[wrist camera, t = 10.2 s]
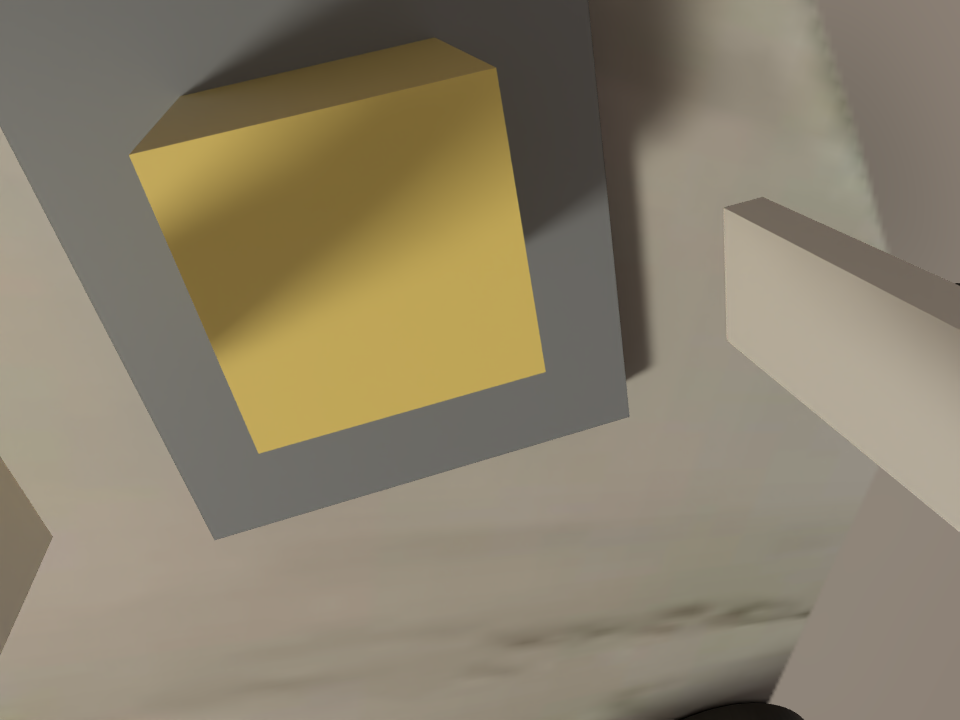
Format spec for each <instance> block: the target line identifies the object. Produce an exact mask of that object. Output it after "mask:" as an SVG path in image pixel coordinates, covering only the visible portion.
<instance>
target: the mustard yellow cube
mask: <svg viewBox="0 0 960 720" xmlns="http://www.w3.org/2000/svg"><path fill="white" fill-rule="evenodd" d="M129 157H130V159H131V161H132V163H133V166H134V168H135V170H136V173H137V175H138V177H139V180H140V182H141V184H142V187H143V189H144V191H145V193H146V196H147V198H148V200H149V203H150V205H151V207H152V210H153V212H154V214H155V216H156V219H157V221H158V223H159V226H160V228H161V230H162V233H163V235H164V237H165V239H166V242H167V244H168V246H169V249H170V251H171V253H172V256H173V258H174V260H175V263H176V265H177V267H178V269H179V272H180V274H181V276H182V279H183V281H184V283H185V286H186V288H187V290H188V292H189V295H190V297H191V299H192V302H193V304H194V306H195V309H196V311H197V313H198V316H199V318H200V320H201V322H202V325H203V327H204V329H205V332H206V334H207V336H208V339H209V341H210V343H211V345H212V348H213V350H214V352H215V355H216V357H217V359H218V362H219V364H220V366H221V368H222V371H223V373H224V375H225V378H226V380H227V382H228V385H229V387H230V389H231V392H232V394H233V396H234V398H235V401H236V403H237V405H238V408H239V410H240V412H241V415H242V417H243V419H244V421H245V424H246V426H247V428H248V431H249V433H250V435H251V438H252V440H253V442H254V444H255V447H256V449H257V451H258V454H260V453H263V452H267V451H270V450H274V449H277V448H281V447H284V446H288V445H291V444H295V443H298V442H302V441H305V440H309V439H312V438H316V437H319V436H323V435H326V434H330V433H333V432H337V431H340V430H344V429H347V428H351V427H354V426H358V425H361V424H365V423H368V422H372V421H375V420H379V419H382V418H386V417H389V416H393V415H396V414H400V413H404V412H407V411H411V410H414V409H418V408H421V407H425V406H428V405H432V404H435V403H439V402H442V401H446V400H449V399H453V398H456V397H460V396H463V395H467V394H470V393H474V392H477V391H481V390H484V389H488V388H491V387H495V386H498V385H502V384H505V383H509V382H512V381H516V380H519V379H523V378H526V377H530V376H533V375H537V374H540V373H544V372H546V370H545V364H544V358H543V352H542V346H541V340H540V334H539V327H538V321H537V315H536V309H535V303H534V297H533V291H532V285H531V278H530V272H529V266H528V260H527V254H526V248H525V242H524V235H523V229H522V223H521V217H520V211H519V205H518V199H517V193H516V186H515V180H514V174H513V168H512V162H511V156H510V150H509V143H508V137H507V131H506V125H505V119H504V113H503V107H502V101H501V94H500V88H499V82H498V76H497V70H496V67H494V66H492V65H490V64H488V63H486V62H484V61H482V60H480V59H477V58H475V57H473V56H471V55H469V54H467V53H465V52H463V51H461V50H459V49H457V48H455V47H453V46H451V45H449V44H447V43H445V42H443V41H441V40H439V39H437V38H430V39H426V40H422V41H417V42H413V43H409V44H404V45H400V46H396V47H391V48H387V49H383V50H378V51H374V52H370V53H365V54H361V55H357V56H352V57H348V58H344V59H339V60H335V61H331V62H326V63H322V64H318V65H313V66H309V67H305V68H300V69H296V70H292V71H287V72H283V73H279V74H274V75H270V76H266V77H261V78H257V79H253V80H248V81H244V82H240V83H235V84H231V85H227V86H222V87H218V88H214V89H209V90H205V91H201V92H196V93H192V94H188V95H183V96H180V97H179V98H178V99H177V100H176V102H175V103H174V104H173V105H172V106H171V107H170V108H169V110H168V111H167V112H166V113H165V114H164V115H163V116H162V118H161V119H160V120H159V121H158V122H157V123H156V124H155V126H154V127H153V128H152V129H151V130H150V131H149V132H148V134H147V135H146V136H145V137H144V138H143V139H142V140H141V142H140V143H139V144H138V145H137V146H136V147H135V148H134V150H133V151H132V152H131V153H130V154H129Z"/></svg>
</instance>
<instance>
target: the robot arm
mask: <svg viewBox="0 0 960 720" xmlns="http://www.w3.org/2000/svg"><path fill="white" fill-rule="evenodd" d="M723 209H724V248H725V287H726V326H727V341H728V342H729V343H731V344H732V345H733V346H734V347H735V348H737V349H738V350H739V351H740V352H741V353H743V354H744V355H745V356H746V357H748V358H749V359H750V360H751V361H752V362H754V363H755V364H756V365H757V366H758V367H760V368H761V369H762V370H763V371H765V372H766V373H767V374H768V375H769V376H771V377H772V378H773V379H774V380H775V381H777V382H778V383H779V384H780V385H782V386H783V387H784V388H785V389H786V390H788V391H789V392H790V393H791V394H792V395H794V396H795V397H796V398H797V399H799V400H800V401H801V402H802V403H803V404H805V405H806V406H807V407H808V408H810V409H811V410H812V411H813V412H814V413H816V414H817V415H818V416H819V417H820V418H822V419H823V420H824V421H825V422H827V423H828V424H829V425H830V426H831V427H833V428H834V429H835V430H836V431H837V432H839V433H840V434H841V435H842V436H844V437H845V438H846V439H847V440H848V441H850V442H851V443H852V444H853V445H854V446H856V447H857V448H858V449H859V450H861V451H862V452H863V453H864V454H865V455H867V456H868V457H869V458H870V459H871V460H873V461H874V462H875V463H876V464H878V465H879V466H880V467H881V468H882V469H884V470H885V471H886V472H887V473H889V474H890V475H891V476H892V477H893V478H895V479H896V480H897V481H898V482H900V483H901V484H902V485H903V486H904V487H906V488H907V489H908V490H909V491H910V492H912V493H913V494H914V495H915V496H916V497H918V498H919V499H920V500H921V501H923V502H924V503H925V504H926V505H928V506H929V507H930V508H931V509H932V510H933V511H935V512H936V513H937V514H938V515H940V516H941V517H942V518H943V519H944V520H946V521H947V522H948V523H949V524H951V525H952V526H953V527H954V528H955V529H957V530H958V531H959V532H960V283H956V284H954V283H952V282H950V281H948V280H945V279H943V278H941V277H939V276H937V275H934V274H932V273H930V272H928V271H925V270H923V269H921V268H919V267H917V266H914V265H912V264H910V263H908V262H906V261H903V260H901V259H899V258H897V257H894V256H892V255H890V254H888V253H886V252H883V251H881V250H879V249H877V248H875V247H872V246H870V245H868V244H866V243H863V242H861V241H859V240H857V239H855V238H852V237H850V236H848V235H846V234H843V233H841V232H839V231H837V230H835V229H832V228H830V227H828V226H826V225H824V224H821V223H819V222H817V221H815V220H812V219H810V218H808V217H806V216H804V215H801V214H799V213H797V212H795V211H793V210H790V209H788V208H786V207H784V206H781V205H779V204H777V203H775V202H773V201H770V200H768V199H766V198H764V197H761V198H757V199H753V200H750V201H746V202H742V203H739V204H735V205H731V206H727V207H724V208H723ZM51 540H52V535H51V533H50V532H49V530H48V529H47V527H46V526H45V524H44V523H43V521H42V520H41V518H40V517H39V515H38V514H37V512H36V511H35V509H34V507H33V506H32V504H31V503H30V501H29V500H28V498H27V497H26V495H25V494H24V492H23V491H22V489H21V488H20V486H19V484H18V483H17V481H16V480H15V478H14V477H13V475H12V474H11V472H10V471H9V469H8V468H7V466H6V465H5V463H4V462H3V460H2V458H1V457H0V654H1V652H2V650H3V647H4V645H5V643H6V641H7V638H8V636H9V634H10V632H11V629H12V627H13V625H14V623H15V620H16V618H17V616H18V614H19V612H20V609H21V607H22V605H23V603H24V600H25V598H26V596H27V594H28V591H29V589H30V587H31V585H32V582H33V580H34V578H35V576H36V573H37V571H38V569H39V567H40V564H41V562H42V560H43V558H44V555H45V553H46V551H47V549H48V546H49V544H50V542H51ZM683 720H804V719H802V718H801V716H799V715H798V714H797V713H795V712H793V711H791V710H789V709H787V708H784V707H781V706H777V705H773V704H765V703H745V704H735V705H729V706H724V707H719V708H715V709H712V710H708V711H705V712H702V713H699V714H696V715H693V716H690V717H688V718H686V719H683Z"/></svg>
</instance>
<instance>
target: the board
mask: <svg viewBox="0 0 960 720" xmlns="http://www.w3.org/2000/svg"><path fill="white" fill-rule="evenodd" d="M430 38H437V39H439V40H441V41H443V42H445V43H447V44H449V45H451V46H453V47H455V48H457V49H459V50H461V51H463V52H465V53H467V54H469V55H471V56H473V57H475V58H477V59H480V60H482V61H484V62H486V63H488V64H490V65H492V66H494V67H496V70H497V76H498V82H499V88H500V94H501V101H502V107H503V113H504V119H505V125H506V131H507V137H508V143H509V150H510V156H511V162H512V168H513V174H514V180H515V186H516V193H517V199H518V205H519V211H520V217H521V223H522V229H523V235H524V242H525V248H526V254H527V260H528V266H529V272H530V278H531V285H532V291H533V297H534V303H535V309H536V315H537V321H538V327H539V334H540V340H541V346H542V352H543V358H544V364H545V370H546V372H544V373H540V374H537V375H533V376H530V377H526V378H523V379H519V380H516V381H512V382H509V383H505V384H502V385H498V386H495V387H491V388H488V389H484V390H481V391H477V392H474V393H470V394H467V395H463V396H460V397H456V398H453V399H449V400H446V401H442V402H439V403H435V404H432V405H428V406H425V407H421V408H418V409H414V410H411V411H407V412H404V413H400V414H396V415H393V416H389V417H386V418H382V419H379V420H375V421H372V422H368V423H365V424H361V425H358V426H354V427H351V428H347V429H344V430H340V431H337V432H333V433H330V434H326V435H323V436H319V437H316V438H312V439H309V440H305V441H302V442H298V443H295V444H291V445H288V446H284V447H281V448H277V449H274V450H270V451H267V452H263V453H260V454H258V451H257V449H256V447H255V444H254V442H253V440H252V438H251V435H250V433H249V431H248V428H247V426H246V424H245V421H244V419H243V417H242V415H241V412H240V410H239V408H238V405H237V403H236V401H235V398H234V396H233V394H232V392H231V389H230V387H229V385H228V382H227V380H226V378H225V375H224V373H223V371H222V368H221V366H220V364H219V362H218V359H217V357H216V355H215V352H214V350H213V348H212V345H211V343H210V341H209V339H208V336H207V334H206V332H205V329H204V327H203V325H202V322H201V320H200V318H199V316H198V313H197V311H196V309H195V306H194V304H193V302H192V299H191V297H190V295H189V292H188V290H187V288H186V286H185V283H184V281H183V279H182V276H181V274H180V272H179V269H178V267H177V265H176V263H175V260H174V258H173V256H172V253H171V251H170V249H169V246H168V244H167V242H166V239H165V237H164V235H163V233H162V230H161V228H160V226H159V223H158V221H157V219H156V216H155V214H154V212H153V210H152V207H151V205H150V203H149V200H148V198H147V196H146V193H145V191H144V189H143V187H142V184H141V182H140V180H139V177H138V175H137V173H136V170H135V168H134V166H133V163H132V161H131V159H130V157H129V154H130V153H131V152H132V151H133V150H134V148H135V147H136V146H137V145H138V144H139V143H140V142H141V140H142V139H143V138H144V137H145V136H146V135H147V134H148V132H149V131H150V130H151V129H152V128H153V127H154V126H155V124H156V123H157V122H158V121H159V120H160V119H161V118H162V116H163V115H164V114H165V113H166V112H167V111H168V110H169V108H170V107H171V106H172V105H173V104H174V103H175V102H176V100H177V99H178V98H179V97H180V96H183V95H188V94H192V93H196V92H201V91H205V90H209V89H214V88H218V87H222V86H227V85H231V84H235V83H240V82H244V81H248V80H253V79H257V78H261V77H266V76H270V75H274V74H279V73H283V72H287V71H292V70H296V69H300V68H305V67H309V66H313V65H318V64H322V63H326V62H331V61H335V60H339V59H344V58H348V57H352V56H357V55H361V54H365V53H370V52H374V51H378V50H383V49H387V48H391V47H396V46H400V45H404V44H409V43H413V42H417V41H422V40H426V39H430ZM0 127H1V129H2V131H3V133H4V135H5V137H6V139H7V140H8V142H9V144H10V146H11V148H12V150H13V152H14V154H15V156H16V158H17V160H18V162H19V164H20V166H21V167H22V169H23V171H24V173H25V175H26V177H27V179H28V181H29V183H30V185H31V187H32V189H33V191H34V193H35V195H36V196H37V198H38V200H39V202H40V204H41V206H42V208H43V210H44V212H45V214H46V216H47V218H48V220H49V222H50V223H51V225H52V227H53V229H54V231H55V233H56V235H57V237H58V239H59V241H60V243H61V245H62V247H63V249H64V250H65V252H66V254H67V256H68V258H69V260H70V262H71V264H72V266H73V268H74V270H75V272H76V274H77V276H78V277H79V279H80V281H81V283H82V285H83V287H84V289H85V291H86V293H87V295H88V297H89V299H90V301H91V303H92V305H93V306H94V308H95V310H96V312H97V314H98V316H99V318H100V320H101V322H102V324H103V326H104V328H105V330H106V332H107V333H108V335H109V337H110V339H111V341H112V343H113V345H114V347H115V349H116V351H117V353H118V355H119V357H120V359H121V360H122V362H123V364H124V366H125V368H126V370H127V372H128V374H129V376H130V378H131V380H132V382H133V384H134V386H135V388H136V389H137V391H138V393H139V395H140V397H141V399H142V401H143V403H144V405H145V407H146V409H147V411H148V413H149V415H150V416H151V418H152V420H153V422H154V424H155V426H156V428H157V430H158V432H159V434H160V436H161V438H162V440H163V442H164V443H165V445H166V447H167V449H168V451H169V453H170V455H171V457H172V459H173V461H174V463H175V465H176V467H177V469H178V471H179V472H180V474H181V476H182V478H183V480H184V482H185V484H186V486H187V488H188V490H189V492H190V494H191V496H192V498H193V499H194V501H195V503H196V505H197V507H198V509H199V511H200V513H201V515H202V517H203V519H204V521H205V523H206V525H207V526H208V528H209V530H210V532H211V534H212V536H213V538H214V540H217V539H220V538H224V537H227V536H230V535H234V534H237V533H240V532H244V531H247V530H251V529H254V528H257V527H261V526H264V525H267V524H271V523H274V522H277V521H281V520H284V519H287V518H291V517H294V516H298V515H301V514H304V513H308V512H311V511H314V510H318V509H321V508H324V507H328V506H331V505H335V504H338V503H341V502H345V501H348V500H351V499H355V498H358V497H361V496H365V495H368V494H371V493H375V492H378V491H382V490H385V489H388V488H392V487H395V486H398V485H402V484H405V483H408V482H412V481H415V480H419V479H422V478H425V477H429V476H432V475H435V474H439V473H442V472H445V471H449V470H452V469H455V468H459V467H462V466H466V465H469V464H472V463H476V462H479V461H482V460H486V459H489V458H492V457H496V456H499V455H502V454H506V453H509V452H513V451H516V450H519V449H523V448H526V447H529V446H533V445H536V444H539V443H543V442H546V441H550V440H553V439H556V438H560V437H563V436H566V435H570V434H573V433H576V432H580V431H583V430H586V429H590V428H593V427H597V426H600V425H603V424H607V423H610V422H613V421H617V420H620V419H623V418H627V417H629V407H628V397H627V387H626V377H625V367H624V357H623V346H622V336H621V326H620V316H619V306H618V296H617V286H616V276H615V266H614V256H613V246H612V236H611V226H610V216H609V206H608V196H607V186H606V176H605V166H604V156H603V146H602V135H601V125H600V115H599V105H598V95H597V85H596V75H595V65H594V55H593V45H592V35H591V25H590V15H589V5H588V0H0Z"/></svg>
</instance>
